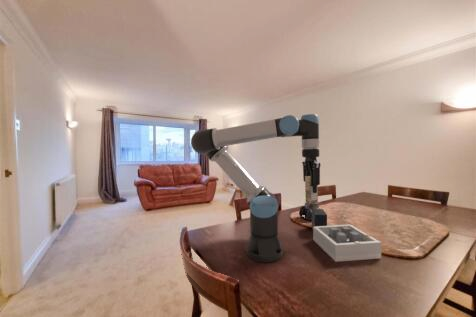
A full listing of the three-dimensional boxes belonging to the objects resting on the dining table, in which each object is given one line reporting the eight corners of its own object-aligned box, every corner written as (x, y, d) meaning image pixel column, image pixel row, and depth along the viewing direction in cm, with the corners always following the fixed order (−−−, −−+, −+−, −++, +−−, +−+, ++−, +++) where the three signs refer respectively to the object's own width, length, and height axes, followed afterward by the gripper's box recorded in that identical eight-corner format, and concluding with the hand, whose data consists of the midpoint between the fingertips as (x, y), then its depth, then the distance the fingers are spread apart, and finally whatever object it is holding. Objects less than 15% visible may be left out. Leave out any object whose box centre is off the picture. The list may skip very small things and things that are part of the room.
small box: (327, 235, 102) (327, 214, 101) (314, 234, 103) (314, 214, 103) (323, 227, 112) (323, 208, 112) (311, 226, 114) (311, 208, 113)
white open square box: (335, 261, 78) (335, 244, 78) (313, 239, 97) (313, 225, 97) (381, 258, 80) (381, 241, 79) (350, 237, 99) (350, 223, 98)
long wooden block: (308, 210, 91) (307, 177, 90) (302, 206, 97) (302, 175, 96) (321, 209, 91) (320, 176, 91) (314, 205, 97) (314, 175, 97)
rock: (295, 212, 130) (303, 199, 128) (307, 218, 133) (315, 205, 131) (303, 222, 119) (312, 208, 118) (316, 227, 122) (325, 214, 121)
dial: (340, 253, 80) (340, 239, 80) (322, 237, 94) (322, 225, 94) (370, 250, 81) (370, 237, 81) (348, 235, 95) (348, 224, 95)
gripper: (328, 148, 85) (329, 202, 86) (309, 148, 102) (310, 194, 103) (311, 148, 84) (312, 203, 85) (295, 148, 101) (296, 194, 102)
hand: (311, 198), depth 94 cm, fingers closed on long wooden block, 4 cm apart
